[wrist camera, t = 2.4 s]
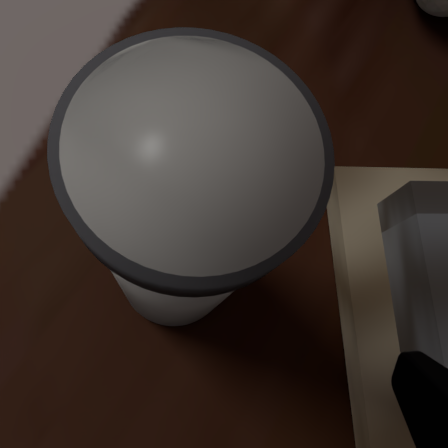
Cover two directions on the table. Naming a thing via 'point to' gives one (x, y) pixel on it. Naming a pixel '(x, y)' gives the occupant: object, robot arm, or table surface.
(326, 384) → the table surface
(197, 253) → the tube
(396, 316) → the collar
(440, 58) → the table surface
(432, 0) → the fossil replica
